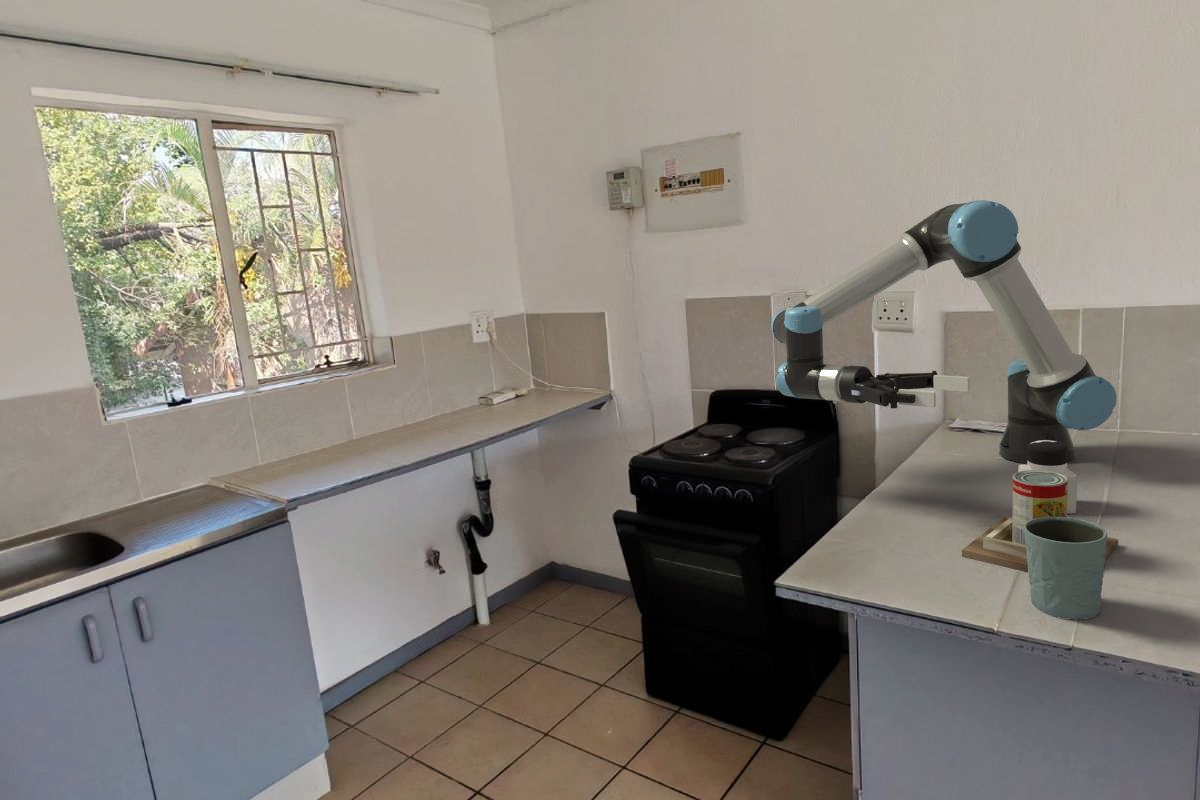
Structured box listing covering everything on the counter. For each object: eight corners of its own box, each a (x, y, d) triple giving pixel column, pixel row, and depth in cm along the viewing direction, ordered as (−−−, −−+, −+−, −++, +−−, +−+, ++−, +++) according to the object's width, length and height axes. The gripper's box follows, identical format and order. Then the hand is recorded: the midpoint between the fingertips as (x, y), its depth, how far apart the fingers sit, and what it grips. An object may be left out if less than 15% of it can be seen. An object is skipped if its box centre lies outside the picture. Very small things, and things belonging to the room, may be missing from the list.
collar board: (1004, 523, 138) (1004, 508, 137) (1118, 545, 124) (1118, 529, 123) (961, 556, 126) (961, 539, 126) (1081, 584, 113) (1082, 566, 112)
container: (1076, 514, 138) (1078, 447, 136) (1031, 515, 140) (1032, 449, 137) (1060, 499, 146) (1061, 436, 143) (1017, 501, 147) (1018, 438, 145)
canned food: (1077, 547, 122) (1079, 479, 120) (1040, 557, 120) (1041, 488, 118) (1037, 532, 130) (1038, 467, 127) (1001, 541, 128) (1001, 475, 125)
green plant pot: (1113, 625, 101) (1116, 544, 99) (1030, 619, 105) (1031, 541, 103) (1093, 591, 111) (1096, 516, 108) (1017, 587, 114) (1018, 514, 112)
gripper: (879, 389, 158) (981, 397, 142) (813, 415, 143) (919, 427, 127) (878, 355, 157) (981, 359, 141) (811, 377, 141) (918, 385, 125)
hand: (952, 391), depth 134 cm, fingers open, 13 cm apart
